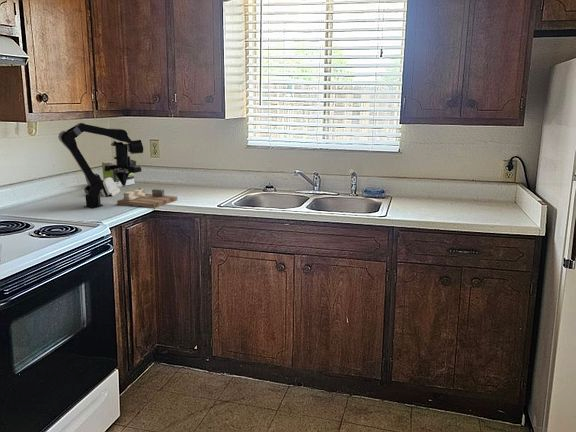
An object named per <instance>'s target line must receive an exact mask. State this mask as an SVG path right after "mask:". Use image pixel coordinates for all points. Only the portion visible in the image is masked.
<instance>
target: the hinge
mask: <svg viewBox="0 0 576 432" xmlns="http://www.w3.org/2000/svg"><path fill="white" fill-rule="evenodd" d="M101 180H102V181H103V182H102V183H103V189H102V190H101V191H100V192H101V193H102V196H103V197H105V198H106V197H107V196H110V195H111V197H115V196H116V195H117V194H119V193H120V192H121V187H117V186H116V184H115V183H114V181H113V179H112V178H110V177H109V178H105V179H101Z"/></svg>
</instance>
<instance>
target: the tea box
mask: <svg viewBox="0 0 576 432" xmlns="http://www.w3.org/2000/svg"><path fill="white" fill-rule="evenodd" d="M110 164H115V165H117V164H116V159H114V160H109V161H104V162H101V167H102V178H103V179H105V178H109V177H110V178H112V179H113V181H114V183H115V184H116V186H117V187H118V188H121V187H125V186H131V185H135V173H130V174H129V175H128V178H127V181H126V185H125V186H123V185H122V184H121V182H120V180H119V178H118V177H117V176H116V174H115V173H114V172H115V170H110V171H105V169H104V167H105V165H110ZM103 179H102V180H103Z"/></svg>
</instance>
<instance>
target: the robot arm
mask: <svg viewBox="0 0 576 432" xmlns="http://www.w3.org/2000/svg"><path fill="white" fill-rule="evenodd" d="M84 132H85V133H89V134H95V135H100V136H106V137H108V138H111V139H113V141H112V142H111V143H110V146H111V147H114V148H115V156H114V157H113V159H114V160H116V164H117V165H115V164H110V165H105V167H104V169H105V171H110V170H115V172H114V173H115V174H116V176H117V177H118V178H119V180H120V182H121V184H122V185H123V186H122V187H125V185H126V181H127V178H128V175H129V174H130V173H134V174H137V173H141V172H142V167H141V165H137V161H136V160H134V159H131V156H130V155H135V154H144V146H143V143H142V139H135V140H132V139H131V138H130V136H129V135H128V132H127V131H126V130H125V129H122V128H106V127H101V126H96V125H91V124H87V123H84V122H78V123H77V124H75V125H74V126H72V127H70V128H68V129H67V130H62V131H60V132H59V133H58V140H59V142H61V143H62V145H64V147H65V148H66V149H67V150H68V151H69V152H70V154H71V155H72V157H73V159H74V161H75V162H76V164H77V165H78V167H79V168H80V169H81V171H82V173H83V175H84V177H85V181H86V183H87V185H86V187H84V188H83V191H84V193H85V205H84V206H83V208H90V209H96V208H99V207H102V206H104V204H101V195H100V194H101V192H102V191H101V190H102V189H103V183H102V182H103V181H102V180H103V179H102V178H101V175H100V174H98V173H95V172H94V171H93V170H92V169H91V167H90V165H89V164H88V162H87V160H86V159H85V157H84V156H83V154H82V152H81V151H80V149H79V147H78V143H77V141H76V139H77V138H78V136H80V135H81V134H82V133H84ZM128 153H130V155H129V154H128Z"/></svg>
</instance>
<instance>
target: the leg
mask: <svg viewBox="0 0 576 432" xmlns="http://www.w3.org/2000/svg"><path fill="white" fill-rule="evenodd" d="M145 194H146V190H145V189H144V187H139V188H137V189H135V190H130V191H127V192H124V193H123V199H124V200H127V201H130V200H133V199H136V198H140V197H143V196H145Z"/></svg>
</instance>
